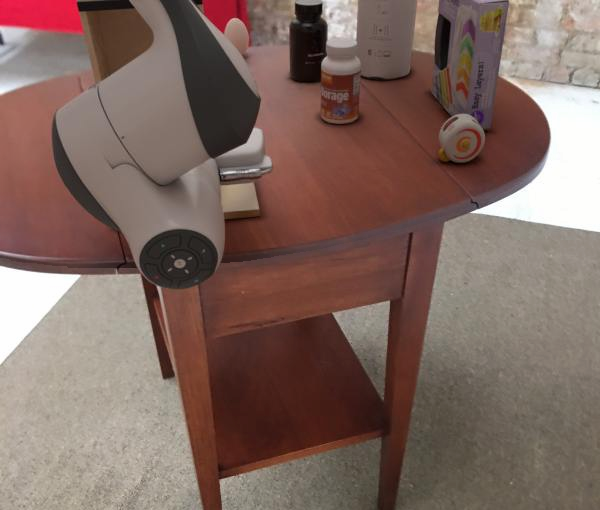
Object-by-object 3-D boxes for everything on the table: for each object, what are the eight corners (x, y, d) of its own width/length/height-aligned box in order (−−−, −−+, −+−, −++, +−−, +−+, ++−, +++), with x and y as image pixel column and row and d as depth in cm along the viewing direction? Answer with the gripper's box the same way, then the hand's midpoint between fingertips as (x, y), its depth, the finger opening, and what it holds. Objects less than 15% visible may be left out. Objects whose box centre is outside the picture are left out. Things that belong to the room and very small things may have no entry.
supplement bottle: (315, 85, 113) (315, 8, 105) (283, 79, 116) (280, 4, 107) (333, 73, 117) (335, -1, 109) (301, 67, 120) (300, -6, 111)
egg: (253, 53, 126) (251, 15, 122) (244, 61, 123) (241, 22, 118) (231, 51, 127) (228, 13, 123) (221, 59, 124) (218, 20, 120)
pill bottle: (314, 121, 102) (313, 45, 94) (330, 107, 106) (331, 34, 98) (349, 127, 100) (352, 50, 92) (364, 113, 104) (368, 38, 96)
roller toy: (484, 164, 90) (492, 123, 86) (440, 167, 90) (446, 126, 85) (475, 151, 93) (482, 110, 89) (432, 153, 93) (438, 113, 89)
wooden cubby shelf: (104, 122, 103) (73, -10, 90) (109, 93, 112) (82, -31, 99) (214, 114, 105) (200, -17, 92) (211, 86, 114) (197, -37, 101)
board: (116, 229, 79) (114, 221, 78) (120, 195, 85) (119, 188, 85) (259, 216, 81) (259, 209, 80) (253, 183, 87) (252, 177, 86)
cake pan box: (426, 90, 111) (440, -30, 98) (454, 88, 111) (471, -32, 98) (459, 135, 97) (480, 2, 85) (491, 132, 98) (516, 0, 85)
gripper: (273, 145, 66) (260, 97, 76) (73, 161, 64) (86, 110, 74) (276, 201, 70) (263, 149, 80) (89, 218, 69) (99, 162, 78)
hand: (177, 130), depth 77 cm, fingers closed on ink box, 5 cm apart
